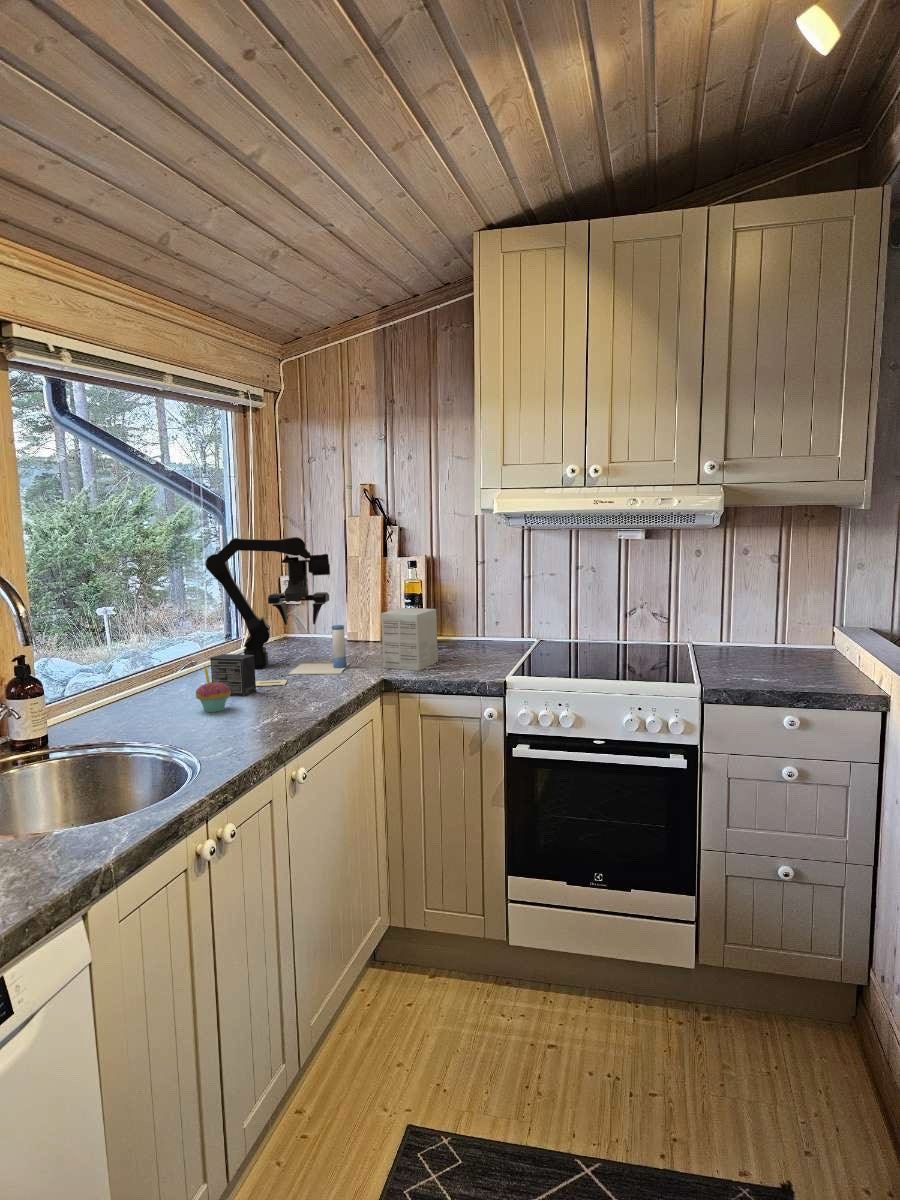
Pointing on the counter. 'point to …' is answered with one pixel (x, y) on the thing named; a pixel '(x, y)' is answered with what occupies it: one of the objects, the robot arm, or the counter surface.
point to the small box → (234, 672)
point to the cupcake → (213, 695)
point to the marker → (338, 646)
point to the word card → (271, 682)
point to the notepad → (317, 668)
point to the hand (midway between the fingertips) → (300, 624)
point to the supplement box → (409, 638)
